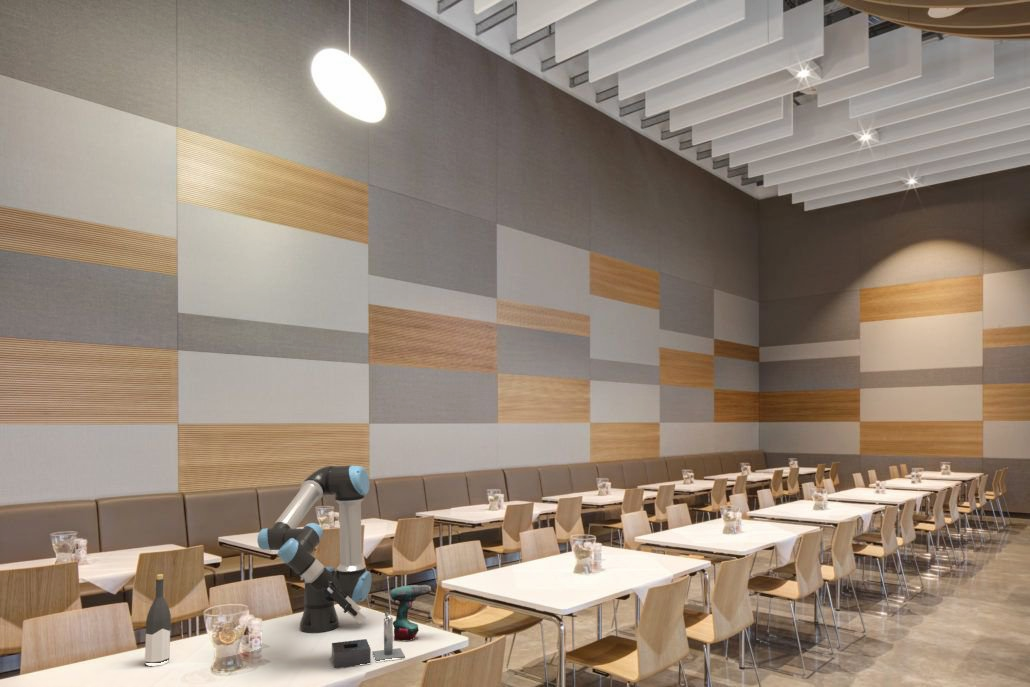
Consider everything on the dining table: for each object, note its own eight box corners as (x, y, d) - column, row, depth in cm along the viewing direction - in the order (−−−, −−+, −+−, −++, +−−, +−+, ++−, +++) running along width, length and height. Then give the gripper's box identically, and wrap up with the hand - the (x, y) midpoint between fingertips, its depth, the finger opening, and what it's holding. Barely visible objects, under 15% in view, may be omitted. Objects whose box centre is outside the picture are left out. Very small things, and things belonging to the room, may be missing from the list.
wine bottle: (165, 657, 255) (167, 571, 258) (173, 662, 249) (176, 574, 253) (141, 663, 250) (143, 575, 253) (148, 668, 244) (151, 578, 247)
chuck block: (331, 657, 251) (331, 643, 251) (366, 653, 255) (366, 639, 255) (334, 668, 239) (334, 653, 240) (370, 664, 243) (370, 648, 244)
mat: (372, 653, 254) (372, 651, 254) (400, 650, 257) (400, 647, 257) (376, 662, 245) (376, 660, 245) (405, 658, 248) (405, 656, 248)
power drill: (428, 642, 265) (428, 587, 268) (387, 641, 269) (387, 586, 271) (434, 636, 272) (434, 583, 275) (394, 635, 276) (394, 582, 278)
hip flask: (382, 651, 254) (382, 612, 255) (391, 650, 255) (390, 611, 256) (385, 658, 247) (385, 617, 248) (394, 656, 248) (394, 617, 249)
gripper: (306, 577, 257) (348, 615, 260) (310, 591, 234) (356, 634, 237) (322, 560, 259) (363, 599, 263) (327, 573, 236) (373, 615, 239)
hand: (360, 615), depth 250 cm, fingers open, 13 cm apart
